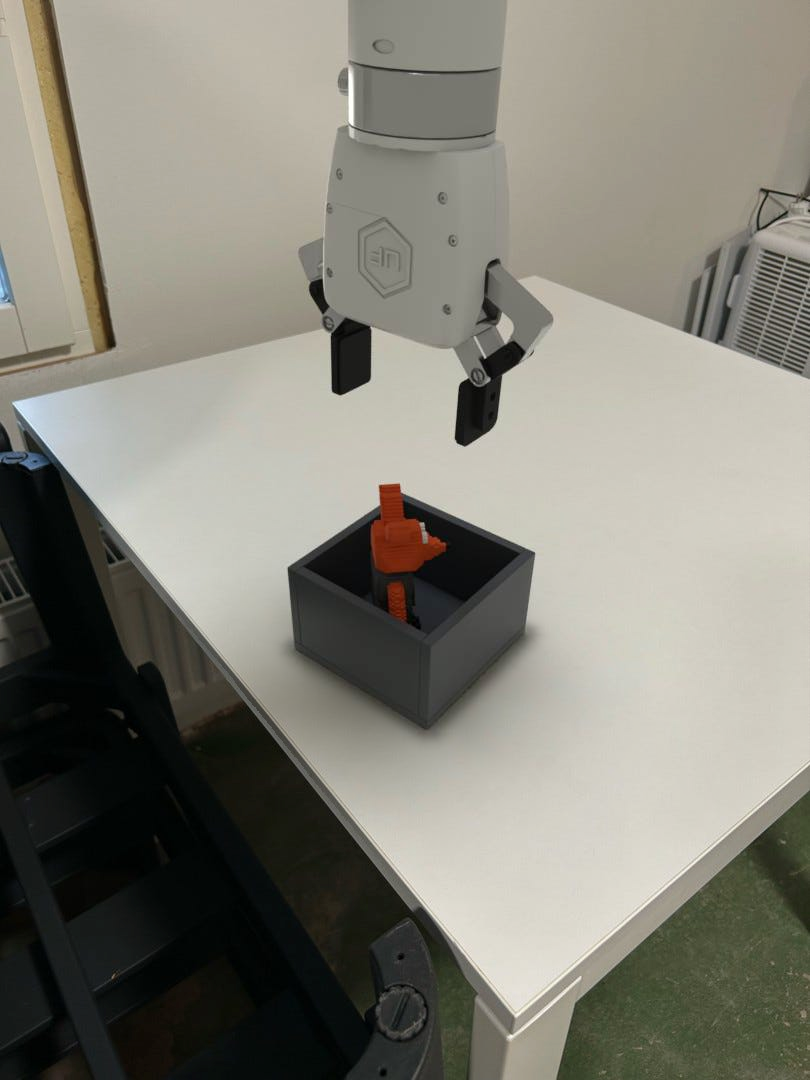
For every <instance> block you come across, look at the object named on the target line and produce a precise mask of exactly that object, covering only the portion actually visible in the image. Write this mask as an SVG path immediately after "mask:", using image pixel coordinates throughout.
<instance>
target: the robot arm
mask: <svg viewBox="0 0 810 1080" xmlns="http://www.w3.org/2000/svg"><path fill="white" fill-rule="evenodd" d="M507 11H508V0H347V44H348V45H347V47H348V48H347V59H348V61H347V67H343V68H342V69H341V70H340V72H339V74H338V78H337V89H338V91H339V93H340V94H341V95H342V96H345V97H347V100H348V101H347V102H348V103H347V107H348V108H347V109H348V110H347V113H348V116H347V117H348V120H347V121H348V124H344V125H341V126H339V127H337V129H336V133H335V137H334V142H333V146H332V149H331V150H332V151H331V156H330V163H329V168H328V175H327V183H326V193H325V202H324V204H325V205H324V218H323V219H324V220H323V237H320V238H317V239H316V240H313V241H311V242H309V243H307V244H304V245H302V246H300V247H299V249H298V253H297V254H298V258H299V261H300V264H301V266H302V269H303V272H304V275H305V277H306V280H307V281H309V285H308V292H309V295H310V297H311V299H312V301H313V302H314V303H315V305H316V306H317V308H318V311H320V313H321V315H322V316H321V319H320V323H321V326H322V329H323V330H324V331H325V332H327V333H328V334H330V371H331V372H330V375H331V377H330V378H331V380H330V381H331V383H330V384H331V392H332V393H333V394H334V395H337V396H341V397H342V396H344V395H346V394H348V393H350V392H352V391H354V390H356V389H359V387H362V386H364V385H366V384H368V383H370V382H371V379H372V339H373V337H372V331H373V330H372V328H374V329H376V330H379V331H383V332H385V333H387V334H391V335H394V336H397V337H400V338H403V339H404V340H405V339H406V340H409V341H411V342H414V343H418V344H421V345H424V346H427V347H430V348H434V349H439V350H449V349H453V350H454V352H455V354H456V357H457V359H458V360H459V362H460V364H461V366H462V368H463V370H464V372H465V374H466V375H467V378H466V379H464V380H463V381H461V382H460V383H459V385H458V389H457V390H458V391H457V402H456V415H455V429H454V441H455V443H456V444H457V445H458V446H461V447H465V448H466V447H468V446H469V445H471V444H472V443H474V442H475V441H477V440H479V439H480V438H482V437H483V436H485V435H486V434H488V433H489V432H490V431H492V429H493V428H495V426H496V424H497V421H498V417H499V408H500V401H501V400H500V399H501V392H502V382H503V376H504V375H505V374H506V373H508V372H510V371H511V370H512V369H514V368H515V367H517V366H519V365H520V364H521V363H523V362H524V361H526V360H527V359H529V358H530V357H531V356H533V354H534V352H535V349H536V347H537V346H539V344H540V343H541V342H542V340H543V339H544V337H545V336H546V334H547V333H548V332H549V330H551V328H552V326H553V324H554V316H553V313H551V311H550V310H549V309H548V308H547V307H545V305H543V304H542V303H541V302H540V301H539V300H538V299H537V298H536V297H535V295H533V294H532V293H531V292H530V291H529V290H528V289H527V288H525V286H524V285H522V284H521V283H520V282H519V281H518V280H517V279H516V278H515V276H513V275H512V274H511V273H510V272H508V268H509V267H508V266H509V245H510V194H509V193H510V192H509V191H510V190H509V189H510V188H509V176H508V175H509V174H508V165H507V155H506V148H505V142H504V141H502V140H498V139H496V137H497V124H498V123H497V122H498V114H499V113H498V111H499V103H500V92H501V79H502V69H503V67H502V66H503V56H504V48H505V47H504V46H505V35H506V24H507ZM503 314H504V315H505V316H506V317H507V318H508V319H509V321H511V322H512V325H513V331H512V333H511V335H510V337H509V339H508V341H507V342H506V343H505V340H504V339H503V337H502V336H501V333H500V331H499V329H498V327H497V326H498V325H499V323H500V322H501V319H502V315H503ZM475 338H476V339H475ZM476 340H477V341H476ZM477 342H478V343H477ZM478 344H479V345H478ZM479 346H480V347H479ZM481 349H482V351H481ZM482 352H483V353H484V355H485V357H484V355H483V353H482Z"/></svg>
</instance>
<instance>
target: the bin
mask: <svg viewBox="0 0 810 1080" xmlns="http://www.w3.org/2000/svg"><path fill="white" fill-rule="evenodd" d="M401 494H402V503H403V514H404V518H406V520H407V519H416V520H417V521H419V523H424V525H425V531H426V532H427V533H429V536H432V538H434V537H437V538H438V539H440V542H441V543H443V542H450V543H451V549H447V550H446V552H441V554H439V555H438V556H434V558H432V560H424V562H423V565H421V567H419V569H417V570H416V571H412V574H413V583H414V589H415V591H414V592H415V606H412V607H413V608H412V613H414V614H415V616H419V622H420V623H421V629H416V628H415V627H413V626H411V625H409V624H407V623H405V622H404V621H402V620H400V619H398V618H396V617H394V616H393V615H391V614H389V613H387V612H385V611H383V610H382V609H380V608H378V607H376V606H374V605H373V602H372V594H371V577H372V572H371V550H372V546H371V525H372V524H374V520H381V511H380V504H379V505H377V506H376V507H374V508H373V509H372V510H370V511H368V512H367V513H366V514H364V515H363V516H362V517H360V518H358V519H356V520H355V521H354V522H353V523H351V524H349V525H348V526H347V527H345V528H343V529H342V530H341V531H339V532H338V533H336V534H334V535H333V536H332V537H330V538H329V539H327V540H326V541H324V542H323V543H321V544H320V545H318V546H317V547H315V548H314V549H312V550H311V551H309V552H308V553H306V554H305V555H303V556H302V557H301V558H299V559H297V560H296V561H294V562H293V563H292V564H290V565H288V566H287V569H286V570H287V580H288V589H289V601H290V602H289V603H290V614H291V623H292V624H291V625H292V633H293V635H292V636H293V643H294V645H293V646H294V649H296V650H297V651H299V652H300V653H301V654H304V655H305V656H306V657H309V658H310V659H312V660H313V661H315V662H317V663H318V664H320V665H322V666H323V667H325V668H327V669H328V670H330V671H332V672H333V673H335V674H336V675H338V676H339V677H341V678H343V679H344V680H346V681H347V682H349V683H351V684H352V685H354V686H356V687H357V688H358V689H360V690H362V691H364V692H365V693H367V694H368V695H370V696H371V697H373V698H375V699H377V700H378V701H380V702H381V703H383V704H385V705H386V706H387V707H390V708H391V709H393V710H395V711H396V712H397V713H399V714H400V715H402V716H405V717H406V718H408V719H409V720H410V721H412V722H414V723H415V724H417V725H419V726H420V727H422V728H424V729H425V730H428V729H429V728H431V726H433V724H434V723H435V722H436V721H438V719H439V718H440V717H441V716H442V715H443V714H444V713H445V712H446V711H448V709H449V708H451V706H453V704H454V703H455V702H456V701H457V700H458V699H459V698H460V697H461V696H462V695H463V694H464V693H465V692H466V691H467V690H468V689H469V688H470V687H472V685H473V684H474V683H475V682H476V681H477V680H478V679H479V678H481V676H482V675H483V674H484V673H485V672H487V670H488V669H489V668H490V667H492V665H493V664H494V663H495V662H496V661H498V659H500V658H501V656H503V654H504V653H505V652H506V651H507V650H508V649H509V648H510V647H512V645H513V644H514V643H515V642H517V640H518V639H519V638H520V637H521V636H522V635H523V634H524V633H525V631H526V625H527V619H528V618H527V617H528V610H529V604H530V603H529V602H530V596H531V588H532V582H533V573H534V567H535V559H536V552H535V551H534V550H531V549H530V548H529V549H528V548H526V547H524V546H523V545H519V544H518V543H516V542H513V541H511V540H508V539H506V538H504V537H502V536H500V535H497V534H495V533H493V532H492V531H488V530H486V529H484V528H481V527H480V526H478V525H475V524H473V523H471V522H469V521H466V520H464V519H462V518H459V517H457V516H455V515H453V514H450V513H449V512H446V511H444V510H442V509H440V508H438V507H435V506H433V505H430V504H428V503H426V502H423V501H422V500H420V499H417V498H415V497H413V496H410V495H407V494H406V493H403V492H401Z"/></svg>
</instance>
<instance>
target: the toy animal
mask: <svg viewBox="0 0 810 1080" xmlns="http://www.w3.org/2000/svg"><path fill="white" fill-rule="evenodd" d="M401 493H402V489H401V483H400V482H399V483H385V484H379V485H378V495H379V496H378V497H379V498H378V499H379V505H380V511H381V520H374V524H372V525H371V546H372V550H371V572H372V577H371V594H372V602H373V605H374V606H376V607H378V608H380V609H382V610H383V611H385V612H387V613H389V614H391V615H393V616H394V617H396V618H398V619H400V620H402V621H404V622H405V623H407V624H409V625H411V626H413V627H415V628H416V629H421V623H420V622H419V616H415V614H414V613H412V608H413V607H412V606H415V592H414V591H415V589H414V583H413V574H412V571H416V570H417V569H419V567H421V565H423V562H424V560H432V558H434V556H438V555H439V554H441V552H446V550H447V549H451V543H450V542H443V543H441V542H440V539H438V538H437V537H434V538H432V536H429V533H427V532H426V531H425V525H424V523H419V521H417V520H416V519H407V520H406V518H404V514H403V503H402V494H401Z"/></svg>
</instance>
